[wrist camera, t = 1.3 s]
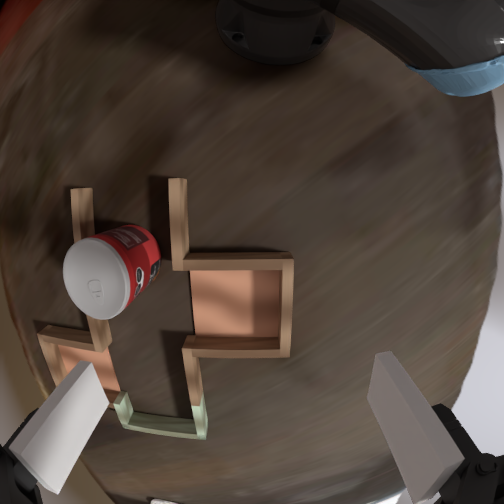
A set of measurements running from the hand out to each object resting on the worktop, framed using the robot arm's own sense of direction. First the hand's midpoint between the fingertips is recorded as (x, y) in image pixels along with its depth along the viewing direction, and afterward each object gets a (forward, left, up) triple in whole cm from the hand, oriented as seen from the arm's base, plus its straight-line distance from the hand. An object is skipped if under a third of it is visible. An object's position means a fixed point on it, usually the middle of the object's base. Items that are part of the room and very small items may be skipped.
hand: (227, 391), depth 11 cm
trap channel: (+8, -14, -23) cm, 28 cm away
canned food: (-1, -14, -23) cm, 27 cm away
